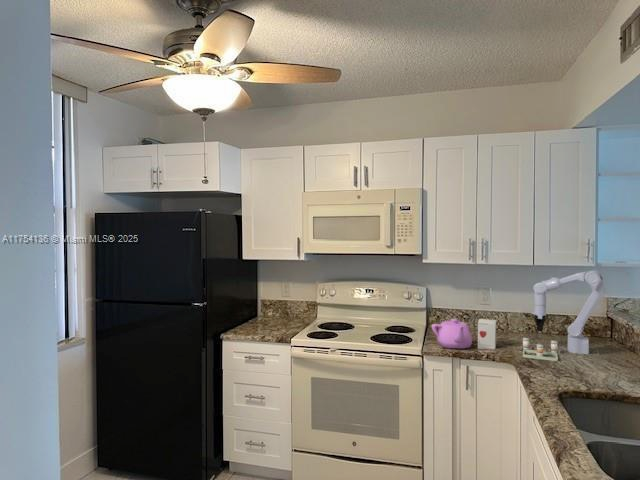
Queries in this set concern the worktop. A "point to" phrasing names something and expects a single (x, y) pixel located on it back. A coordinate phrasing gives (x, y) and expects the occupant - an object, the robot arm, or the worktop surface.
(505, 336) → the worktop surface
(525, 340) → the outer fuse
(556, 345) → the cylinder
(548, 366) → the worktop surface
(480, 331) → the supplement box
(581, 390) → the worktop surface
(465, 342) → the teapot
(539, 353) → the marked fuse
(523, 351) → the tray
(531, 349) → the fuse holder
